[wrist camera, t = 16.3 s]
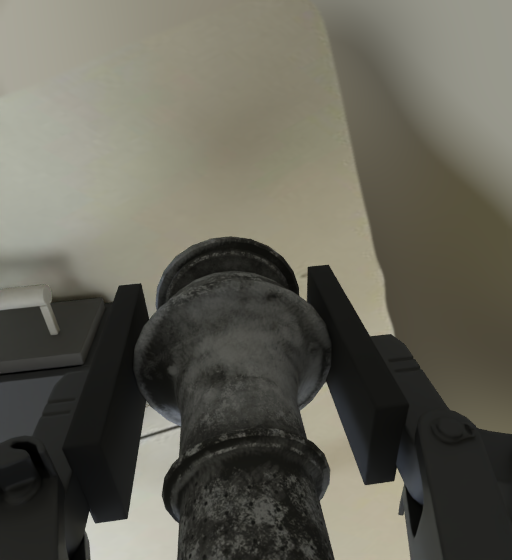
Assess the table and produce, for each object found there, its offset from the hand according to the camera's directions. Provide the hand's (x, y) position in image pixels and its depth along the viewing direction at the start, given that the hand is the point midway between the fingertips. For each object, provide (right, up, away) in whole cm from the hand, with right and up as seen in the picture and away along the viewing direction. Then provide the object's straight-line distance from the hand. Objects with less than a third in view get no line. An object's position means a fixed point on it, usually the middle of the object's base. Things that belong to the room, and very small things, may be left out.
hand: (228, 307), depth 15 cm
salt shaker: (0, 0, 0) cm, 1 cm away
